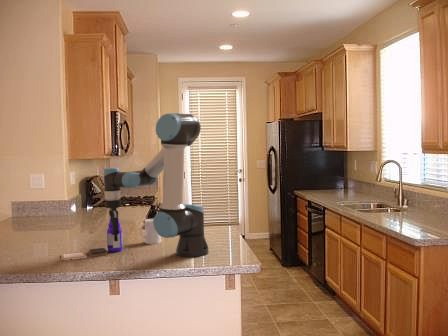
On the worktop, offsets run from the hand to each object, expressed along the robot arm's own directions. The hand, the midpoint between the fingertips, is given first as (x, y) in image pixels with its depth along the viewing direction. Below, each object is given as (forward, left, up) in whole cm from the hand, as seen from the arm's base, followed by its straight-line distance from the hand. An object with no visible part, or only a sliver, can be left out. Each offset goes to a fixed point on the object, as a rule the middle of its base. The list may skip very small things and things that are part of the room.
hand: (115, 246), depth 223 cm
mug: (+10, -20, -3) cm, 22 cm away
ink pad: (-2, +8, -2) cm, 9 cm away
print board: (-2, +19, -2) cm, 20 cm away
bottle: (0, 0, -3) cm, 3 cm away
